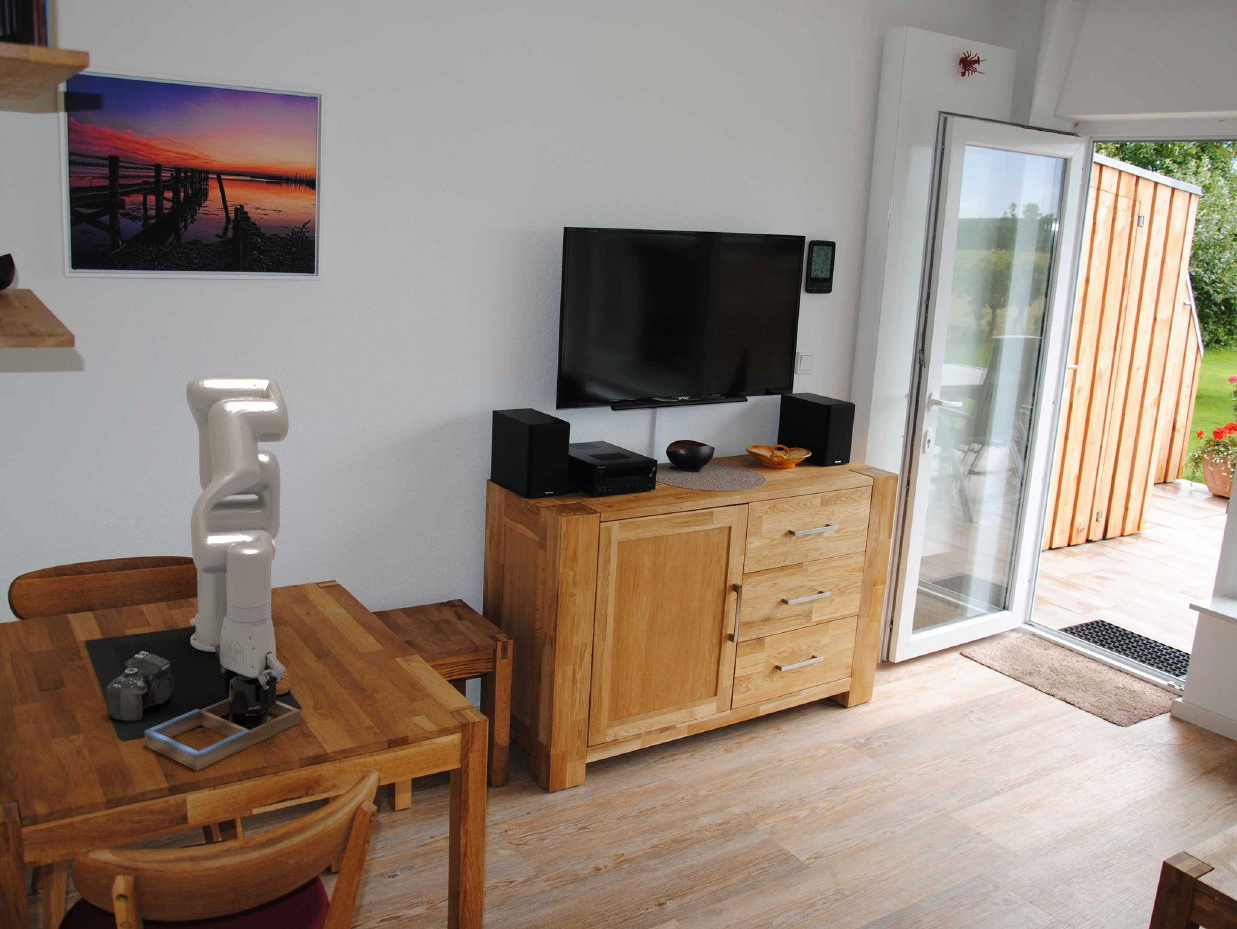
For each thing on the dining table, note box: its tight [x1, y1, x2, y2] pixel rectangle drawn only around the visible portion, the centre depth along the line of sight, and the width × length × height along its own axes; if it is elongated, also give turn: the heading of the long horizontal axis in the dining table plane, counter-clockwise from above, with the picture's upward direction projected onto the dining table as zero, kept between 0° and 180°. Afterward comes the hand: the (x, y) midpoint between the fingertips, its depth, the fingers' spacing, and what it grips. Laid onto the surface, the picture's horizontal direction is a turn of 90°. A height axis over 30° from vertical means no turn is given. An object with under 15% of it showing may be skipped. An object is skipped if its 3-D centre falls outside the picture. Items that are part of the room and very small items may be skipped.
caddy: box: [143, 697, 301, 771], centre depth 186 cm, size 14×22×3 cm, turn 150°
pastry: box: [266, 667, 292, 696], centre depth 206 cm, size 9×7×4 cm
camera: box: [105, 651, 175, 722], centre depth 194 cm, size 13×10×10 cm
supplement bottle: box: [228, 670, 270, 730], centre depth 190 cm, size 7×7×12 cm
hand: (249, 698), depth 190 cm, fingers open, 9 cm apart
